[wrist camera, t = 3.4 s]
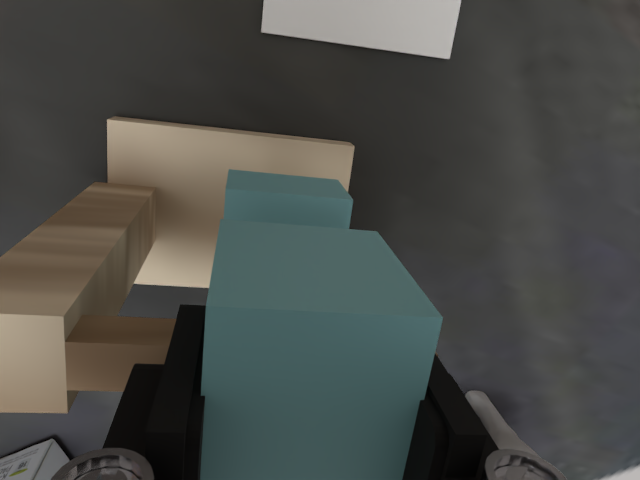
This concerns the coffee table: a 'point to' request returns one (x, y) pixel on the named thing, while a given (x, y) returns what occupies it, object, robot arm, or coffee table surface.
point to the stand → (128, 254)
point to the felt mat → (368, 23)
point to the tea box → (34, 462)
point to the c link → (309, 339)
